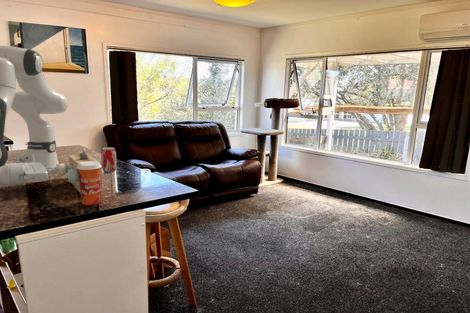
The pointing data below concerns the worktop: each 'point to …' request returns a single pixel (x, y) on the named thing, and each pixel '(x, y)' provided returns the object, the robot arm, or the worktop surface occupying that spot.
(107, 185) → the worktop surface
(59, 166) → the cream knob
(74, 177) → the teal knob
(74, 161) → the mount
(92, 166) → the coffee cup
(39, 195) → the worktop surface
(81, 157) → the potentiometer
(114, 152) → the soda can
